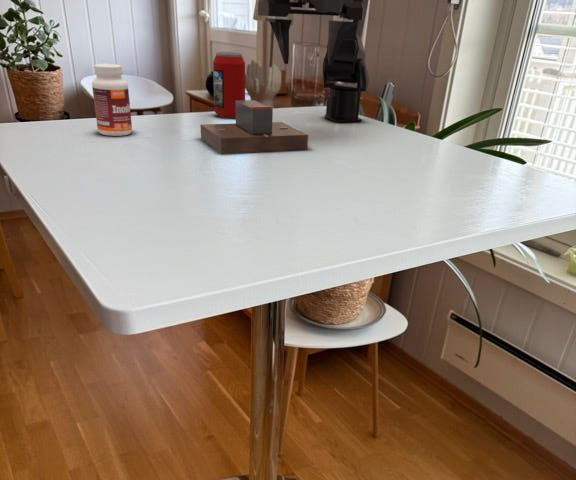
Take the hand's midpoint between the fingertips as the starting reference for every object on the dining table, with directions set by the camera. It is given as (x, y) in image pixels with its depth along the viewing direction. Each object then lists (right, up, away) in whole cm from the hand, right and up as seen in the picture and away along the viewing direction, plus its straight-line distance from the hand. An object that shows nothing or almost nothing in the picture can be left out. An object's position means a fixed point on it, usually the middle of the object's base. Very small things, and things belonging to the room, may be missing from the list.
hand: (308, 64), depth 106 cm
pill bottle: (-36, -14, -1) cm, 38 cm away
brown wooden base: (-10, -17, -4) cm, 20 cm away
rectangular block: (-10, -15, -6) cm, 19 cm away
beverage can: (-17, -1, +19) cm, 25 cm away
